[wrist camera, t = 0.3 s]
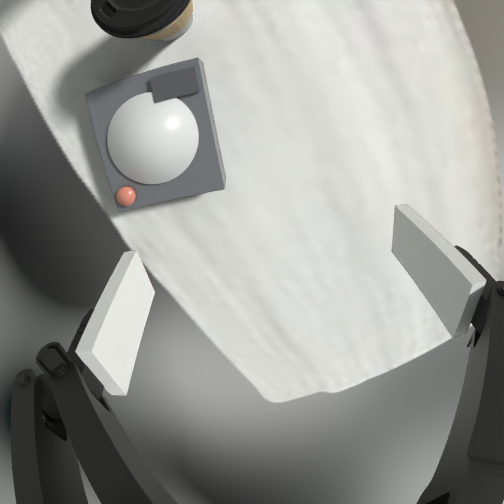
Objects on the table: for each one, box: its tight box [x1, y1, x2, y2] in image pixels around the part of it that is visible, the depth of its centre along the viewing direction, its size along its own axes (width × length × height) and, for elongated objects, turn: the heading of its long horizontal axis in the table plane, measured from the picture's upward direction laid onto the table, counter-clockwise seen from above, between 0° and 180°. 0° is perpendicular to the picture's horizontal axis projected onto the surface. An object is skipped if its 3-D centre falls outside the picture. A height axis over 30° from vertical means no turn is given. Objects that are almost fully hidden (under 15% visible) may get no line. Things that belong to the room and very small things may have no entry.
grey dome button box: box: [85, 58, 226, 212], centre depth 33 cm, size 16×14×6 cm
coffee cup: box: [91, 0, 193, 41], centre depth 21 cm, size 9×9×15 cm
